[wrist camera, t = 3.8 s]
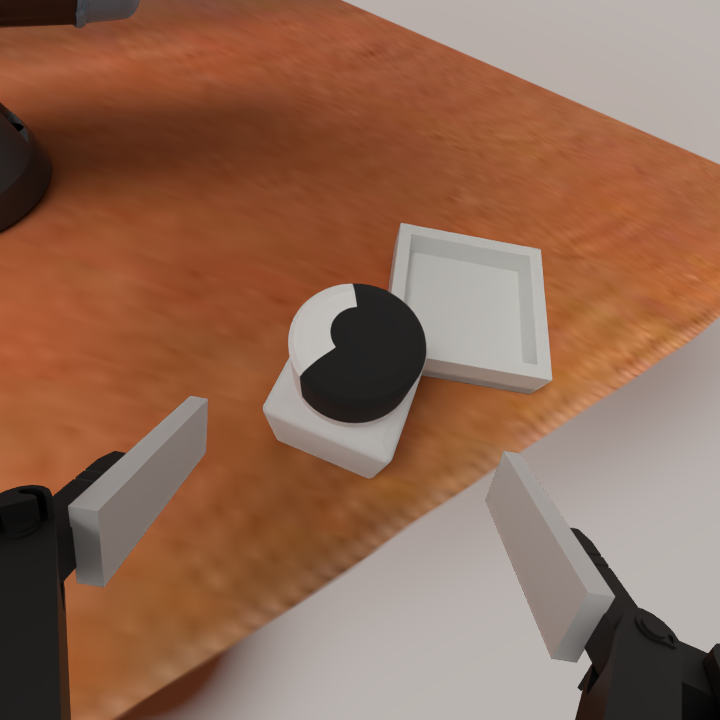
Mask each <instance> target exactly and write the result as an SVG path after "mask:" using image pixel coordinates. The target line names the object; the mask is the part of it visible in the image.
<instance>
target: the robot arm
mask: <svg viewBox="0 0 720 720" xmlns="http://www.w3.org/2000/svg"><path fill="white" fill-rule="evenodd" d="M139 1H140V0H0V28H9V27H30V26H51V25H73V26H74V27H76V28H82V27H84V26H85V25H86V24H87V23H94V22H103V21H113V20H122V19H126V18H128V17H130V16H132V15H133V14H134V12H135V11H136V9H137V7H138V6H139ZM50 177H51V163H50V159H49V156H48V154H47V153H46V151H45V149H44V148H43V147H42V145H41V144H40V143H39V141H38V140H37V139H36V137H35V136H34V134H33V133H32V132H31V130H30V129H29V128H28V127H27V126H26V125H25V124H24V122H23V121H22V120H20V119H19V118H18V117H17V116H16V115H15V114H13V113H12V112H11V111H9V110H8V109H7V108H6V107H5V106H4V105H3V104H1V103H0V230H2V229H4V228H6V227H8V226H9V225H11V224H12V223H14V222H15V221H17V220H18V219H20V218H21V217H22V216H24V215H25V214H26V213H27V212H28V211H29V210H30V209H32V208H33V207H34V205H35V204H36V203H37V202H38V201H39V200H40V198H41V197H42V195H43V194H44V192H45V190H46V189H47V186H48V184H49V181H50ZM207 412H208V399H206V398H200V397H194V396H190V397H188V398H187V399H186V400H185V401H184V402H183V403H182V404H181V405H180V406H178V407H177V408H176V409H175V410H174V411H173V412H172V413H171V414H170V415H168V416H167V417H166V418H165V419H164V420H163V421H162V422H161V423H160V424H158V425H157V426H156V427H155V428H154V429H153V430H152V431H151V432H150V433H148V434H147V435H146V436H145V437H144V438H143V439H142V440H141V441H140V442H139V443H137V444H136V445H135V446H134V447H133V448H132V449H131V450H130V451H129V452H127V453H123V452H117V451H114V452H112V453H109V454H107V455H105V456H103V457H101V458H99V459H97V460H96V461H95V462H94V463H92V464H91V465H90V466H89V467H88V468H86V470H85V471H83V472H82V473H80V474H79V475H78V476H77V477H76V479H75V480H74V479H73V480H72V481H71V482H70V483H68V484H67V485H66V486H65V487H63V488H62V489H61V490H60V491H59V492H57V493H56V494H55V495H54V496H53V497H52V494H51V492H50V490H49V489H48V488H46V487H44V486H38V485H27V486H20V487H16V488H13V489H10V490H6V491H4V492H2V493H0V720H71V712H70V691H69V669H68V648H67V627H66V605H65V587H64V580H65V579H66V578H67V577H68V576H69V575H70V574H71V572H72V571H73V570H74V569H75V570H76V578H77V583H81V584H87V585H93V586H100V587H105V586H106V584H107V583H108V582H109V580H110V579H111V578H112V576H113V575H114V574H115V572H116V571H117V570H118V568H119V567H120V566H121V564H122V563H123V562H124V560H125V559H126V558H127V556H128V555H129V554H130V552H131V551H132V550H133V548H134V547H135V546H136V544H137V543H138V542H139V540H140V539H141V538H142V536H143V535H144V534H145V532H146V531H147V530H148V529H149V527H150V526H151V525H152V523H153V522H154V521H155V519H156V518H157V517H158V515H159V514H160V513H161V511H162V510H163V509H164V507H165V506H166V505H167V503H168V502H169V501H170V499H171V498H172V497H173V495H174V494H175V493H176V491H177V490H178V489H179V487H180V486H181V485H182V483H183V482H184V481H185V479H186V478H187V477H188V475H189V474H190V473H191V472H192V470H193V469H194V468H195V466H196V465H197V464H198V462H199V461H200V460H201V458H202V457H203V456H204V454H205V453H206V437H207ZM485 501H486V503H487V505H488V508H489V510H490V513H491V515H492V517H493V520H494V522H495V525H496V527H497V529H498V532H499V534H500V536H501V539H502V541H503V544H504V546H505V549H506V551H507V553H508V556H509V558H510V560H511V563H512V565H513V568H514V570H515V572H516V575H517V577H518V580H519V582H520V584H521V586H522V589H523V592H524V594H525V596H526V598H527V601H528V604H529V606H530V608H531V611H532V613H533V615H534V618H535V620H536V623H537V625H538V627H539V630H540V632H541V635H542V637H543V639H544V642H545V644H546V647H547V649H548V651H549V654H550V656H551V659H558V660H564V661H570V662H577V661H578V659H579V658H580V656H581V654H582V653H583V651H584V649H585V650H586V651H587V654H588V656H589V658H590V660H591V661H592V665H591V666H590V668H589V670H588V671H587V673H586V674H585V676H584V678H583V679H582V681H581V683H580V684H579V686H578V688H579V689H580V690H581V691H582V690H583V691H582V695H581V699H580V703H579V707H578V711H577V715H576V719H575V720H720V644H716V645H715V646H714V647H713V648H712V649H711V651H710V652H709V653H706V652H704V651H701V650H699V649H697V648H694V647H692V646H690V645H687V644H685V643H683V642H681V641H679V640H678V638H677V637H676V635H675V634H674V632H673V631H672V630H671V629H670V628H669V627H668V626H667V625H666V624H665V623H664V622H663V621H661V620H660V619H659V618H657V617H656V616H655V615H653V614H652V613H650V612H648V611H646V610H644V609H641V608H638V607H637V605H636V604H635V602H634V601H633V600H632V598H631V597H630V596H629V594H628V592H627V591H626V590H625V588H624V587H623V585H622V584H621V583H620V581H619V580H618V578H617V577H616V575H615V574H614V573H613V571H612V570H611V569H610V568H609V567H608V564H607V563H606V561H605V560H604V558H603V557H601V554H600V553H599V551H598V550H597V549H596V547H595V546H594V544H593V543H592V542H591V541H590V540H589V539H588V538H587V537H586V536H585V535H584V534H583V533H582V532H581V531H580V530H578V529H575V528H569V526H568V525H567V523H566V522H565V520H564V519H563V517H562V516H561V514H560V513H559V512H558V510H557V508H556V507H555V505H554V503H553V502H552V501H551V499H550V497H549V496H548V495H547V493H546V491H545V490H544V488H543V487H542V485H541V484H540V482H539V481H538V479H537V478H536V476H535V475H534V474H533V472H532V471H531V469H530V467H529V466H528V464H527V463H526V461H525V460H524V458H523V457H522V455H521V454H519V453H513V452H507V451H503V454H502V457H501V460H500V462H499V465H498V468H497V470H496V473H495V476H494V478H493V481H492V484H491V487H490V489H489V492H488V495H487V498H486V500H485Z"/></svg>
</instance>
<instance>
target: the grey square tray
mask: <svg viewBox="0 0 720 720" xmlns="http://www.w3.org/2000/svg"><path fill="white" fill-rule="evenodd" d="M388 292H390V293H392V294H394V295H395V296H397V297H398V298H400V299H401V300H402V301H403V302H404V303H406V304H407V305H408V306H409V307H410V308H411V310H412V311H413V312H414V313H415V315H416V316H417V318H418V319H419V321H420V323H421V325H422V328H423V331H424V334H425V339H426V347H427V349H428V357H427V360H426V363H425V365H424V368H423V371H422V374H421V375H423V376H428V377H434V378H440V379H445V380H451V381H457V382H462V383H468V384H474V385H479V386H485V387H491V388H496V389H502V390H508V391H513V392H519V393H524V394H531V393H533V392H534V391H536V390H538V389H539V388H541V387H542V386H544V385H546V384H547V383H549V382H550V381H552V372H551V360H550V349H549V338H548V326H547V315H546V304H545V293H544V281H543V270H542V259H541V249H536V248H531V247H525V246H520V245H515V244H510V243H504V242H499V241H494V240H488V239H483V238H478V237H473V236H467V235H462V234H457V233H452V232H446V231H441V230H436V229H431V228H425V227H420V226H415V225H410V224H404V223H401V224H400V227H399V231H398V235H397V238H396V242H395V246H394V251H393V258H392V266H391V273H390V280H389V287H388Z"/></svg>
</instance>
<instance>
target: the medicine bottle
mask: <svg viewBox="0 0 720 720" xmlns="http://www.w3.org/2000/svg"><path fill="white" fill-rule="evenodd" d="M288 347H289V355H290V357H289V359H288V361H287V362H286V364H285V366H284V368H283V370H282V372H281V374H280V376H279V377H278V379H277V381H276V383H275V385H274V387H273V389H272V390H271V392H270V394H269V396H268V398H267V400H266V402H265V403H264V405H263V412H264V414H265V416H266V418H267V420H268V422H269V424H270V426H271V428H272V430H273V432H274V434H275V436H276V438H277V440H278V441H280V442H283V443H285V444H287V445H290V446H292V447H294V448H297V449H299V450H301V451H304V452H306V453H309V454H311V455H313V456H316V457H318V458H320V459H323V460H325V461H327V462H330V463H332V464H335V465H337V466H339V467H342V468H344V469H346V470H349V471H351V472H353V473H356V474H358V475H360V476H363V477H365V478H368V479H371V478H373V477H374V476H375V475H376V474H378V473H379V472H380V471H381V470H382V469H383V468H384V467H386V466H387V465H388V464H389V463H390V462H391V460H392V459H393V456H394V453H395V450H396V447H397V444H398V441H399V438H400V435H401V432H402V429H403V427H404V424H405V421H406V418H407V415H408V412H409V409H410V406H411V403H412V400H413V397H414V395H415V392H416V389H417V386H418V383H419V380H420V377H421V374H422V371H423V368H424V365H425V363H426V360H427V357H428V349H427V347H426V339H425V334H424V331H423V328H422V325H421V323H420V321H419V319H418V318H417V316H416V315H415V313H414V312H413V311H412V310H411V308H410V307H409V306H408V305H407V304H406V303H404V302H403V301H402V300H401V299H400V298H398V297H397V296H395V295H394V294H392V293H390V292H388V291H386V290H383V289H381V288H378V287H375V286H371V285H365V284H342V285H337V286H333V287H330V288H327V289H325V290H323V291H321V292H319V293H317V294H315V295H314V296H313V297H311V298H310V299H309V300H308V301H306V302H305V303H304V304H303V306H302V307H301V308H300V309H299V310H298V312H297V314H296V315H295V317H294V319H293V321H292V324H291V327H290V331H289V338H288Z"/></svg>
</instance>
